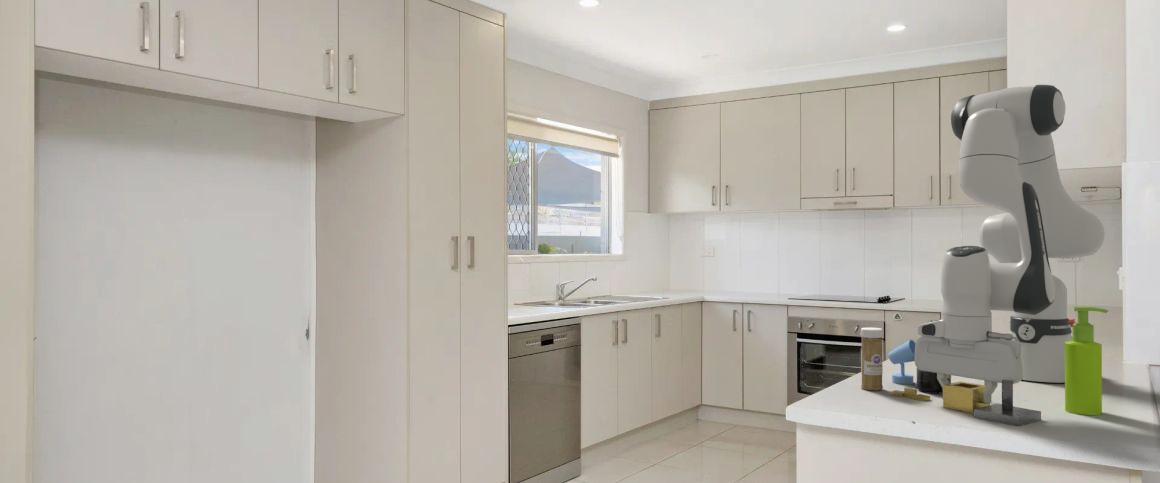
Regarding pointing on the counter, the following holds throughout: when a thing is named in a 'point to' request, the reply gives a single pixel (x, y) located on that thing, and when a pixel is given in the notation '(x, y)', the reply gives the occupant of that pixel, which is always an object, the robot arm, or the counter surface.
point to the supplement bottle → (929, 382)
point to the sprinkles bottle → (871, 358)
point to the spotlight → (903, 361)
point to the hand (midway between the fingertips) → (966, 399)
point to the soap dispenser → (1083, 367)
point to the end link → (963, 396)
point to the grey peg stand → (1007, 409)
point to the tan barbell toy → (910, 394)
